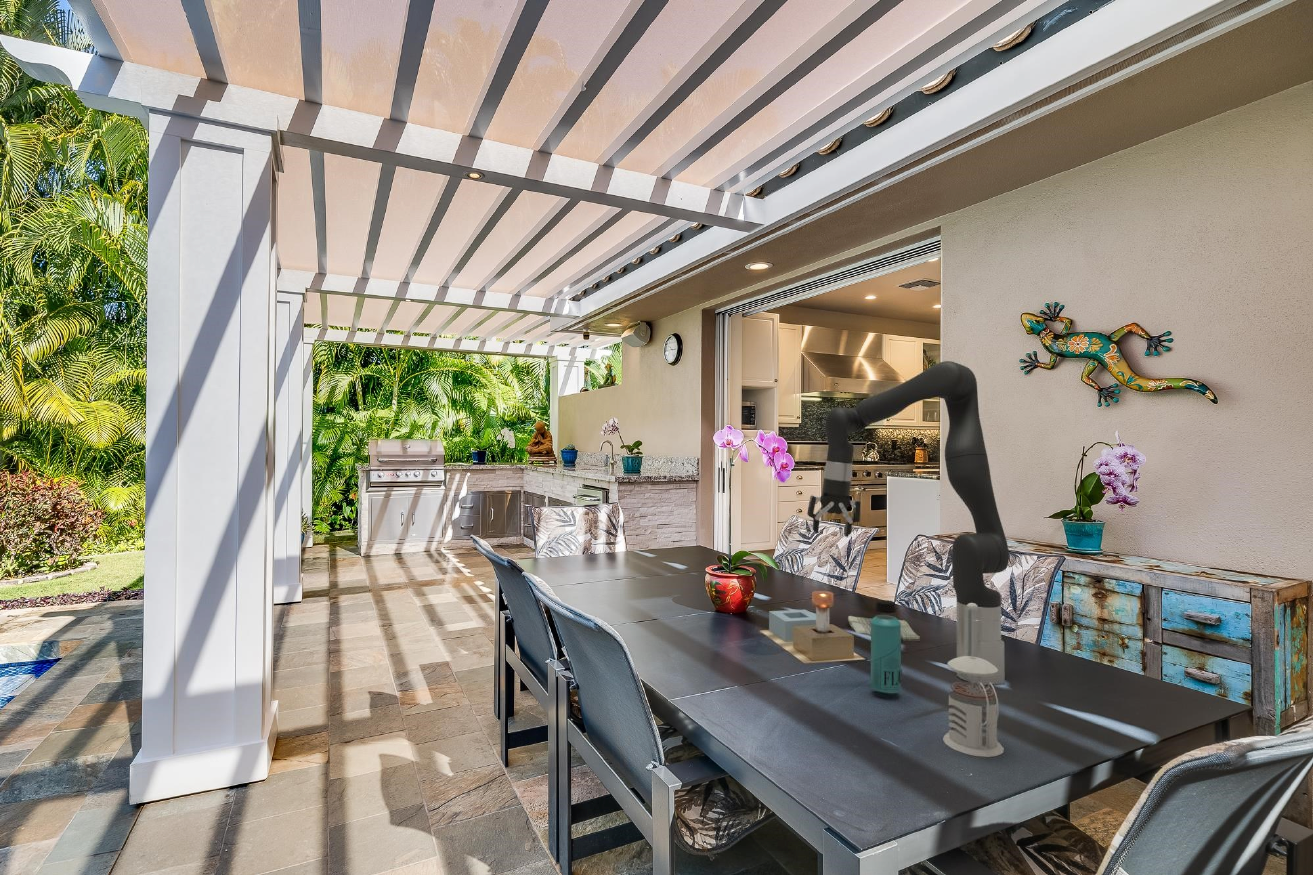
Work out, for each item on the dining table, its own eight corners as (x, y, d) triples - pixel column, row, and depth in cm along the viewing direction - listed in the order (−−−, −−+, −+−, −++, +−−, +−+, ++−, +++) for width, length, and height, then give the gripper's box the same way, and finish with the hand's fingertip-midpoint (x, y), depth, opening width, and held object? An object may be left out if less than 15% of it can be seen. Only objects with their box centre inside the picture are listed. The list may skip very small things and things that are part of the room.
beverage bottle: (881, 702, 134) (881, 605, 135) (863, 690, 141) (863, 598, 141) (908, 699, 136) (908, 603, 136) (889, 688, 142) (889, 596, 143)
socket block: (823, 639, 174) (823, 619, 174) (785, 642, 171) (785, 621, 171) (805, 628, 184) (805, 609, 185) (769, 630, 182) (769, 611, 182)
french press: (984, 731, 120) (984, 596, 121) (1022, 761, 109) (1021, 612, 109) (933, 732, 120) (932, 596, 120) (964, 762, 108) (964, 612, 109)
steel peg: (837, 655, 160) (837, 594, 161) (817, 656, 159) (817, 595, 159) (827, 649, 165) (827, 590, 166) (808, 650, 164) (808, 591, 165)
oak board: (865, 665, 158) (865, 659, 158) (804, 669, 154) (804, 663, 154) (811, 632, 186) (811, 627, 186) (759, 635, 182) (759, 630, 182)
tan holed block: (853, 658, 158) (853, 635, 158) (812, 661, 156) (812, 638, 156) (832, 645, 169) (832, 624, 169) (793, 647, 166) (793, 626, 167)
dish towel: (922, 644, 177) (922, 632, 177) (855, 640, 180) (855, 629, 180) (907, 626, 196) (907, 615, 196) (846, 623, 199) (846, 613, 199)
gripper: (815, 476, 180) (808, 534, 180) (866, 482, 179) (859, 539, 180) (809, 474, 187) (803, 529, 188) (859, 479, 186) (853, 534, 187)
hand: (831, 534), depth 184 cm, fingers open, 8 cm apart
